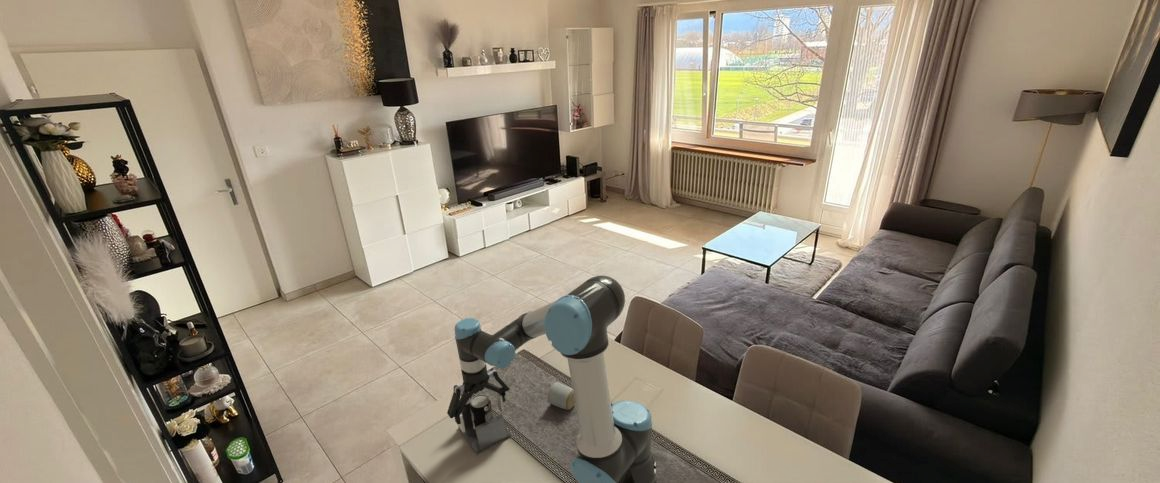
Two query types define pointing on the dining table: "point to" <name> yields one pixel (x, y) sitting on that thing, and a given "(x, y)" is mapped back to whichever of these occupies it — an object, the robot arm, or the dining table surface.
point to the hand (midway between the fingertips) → (482, 419)
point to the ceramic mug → (561, 396)
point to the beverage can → (480, 410)
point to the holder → (483, 430)
